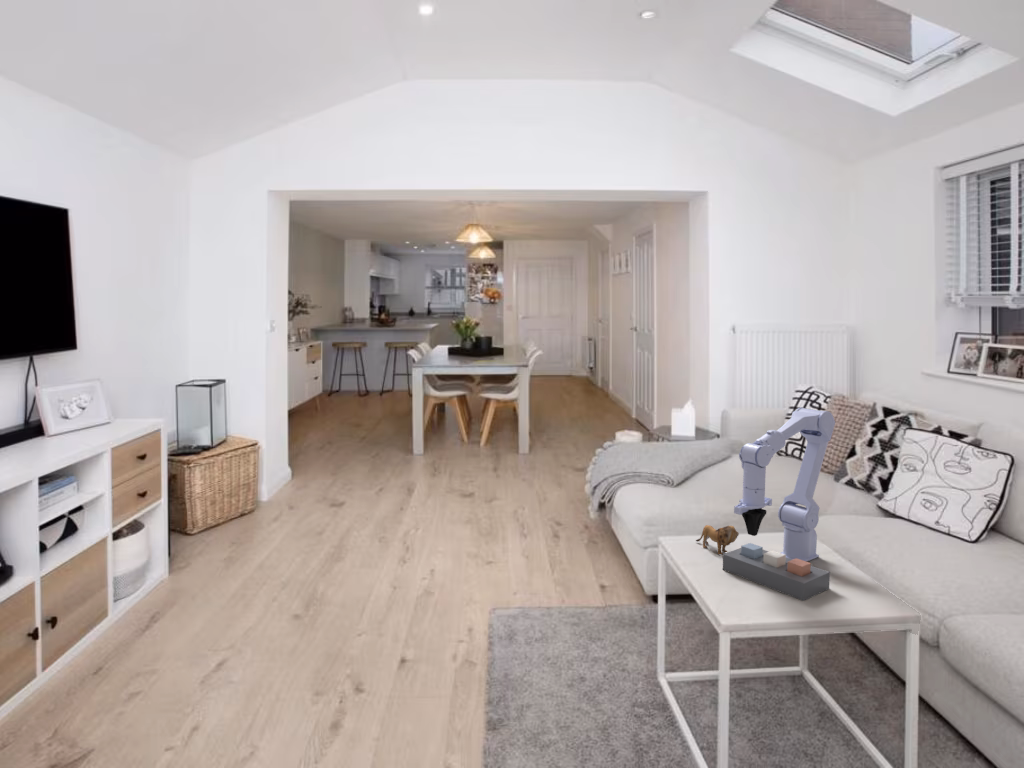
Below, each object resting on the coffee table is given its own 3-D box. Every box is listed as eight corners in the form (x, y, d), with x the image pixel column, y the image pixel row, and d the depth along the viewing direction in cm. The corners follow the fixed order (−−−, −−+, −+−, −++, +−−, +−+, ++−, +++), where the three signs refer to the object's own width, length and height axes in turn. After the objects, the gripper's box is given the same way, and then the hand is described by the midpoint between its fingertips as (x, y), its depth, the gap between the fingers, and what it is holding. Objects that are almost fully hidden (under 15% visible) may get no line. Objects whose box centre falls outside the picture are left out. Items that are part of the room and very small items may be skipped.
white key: (772, 560, 173) (772, 550, 173) (785, 565, 170) (785, 554, 170) (763, 564, 171) (763, 553, 171) (776, 568, 168) (777, 558, 167)
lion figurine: (741, 555, 188) (741, 526, 187) (729, 559, 185) (730, 529, 184) (701, 540, 200) (701, 513, 199) (689, 544, 197) (690, 516, 196)
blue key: (749, 553, 179) (750, 542, 179) (762, 557, 176) (762, 547, 175) (741, 556, 177) (741, 545, 176) (753, 560, 173) (754, 550, 173)
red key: (795, 569, 167) (796, 558, 167) (810, 574, 164) (810, 563, 164) (787, 572, 165) (787, 561, 165) (801, 577, 162) (802, 566, 162)
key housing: (748, 559, 184) (749, 544, 183) (829, 588, 164) (829, 572, 164) (722, 569, 177) (723, 554, 177) (803, 600, 158) (804, 583, 157)
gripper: (756, 479, 181) (755, 525, 183) (725, 488, 173) (723, 535, 175) (779, 485, 175) (777, 532, 177) (747, 493, 167) (746, 543, 169)
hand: (752, 534), depth 175 cm, fingers closed
